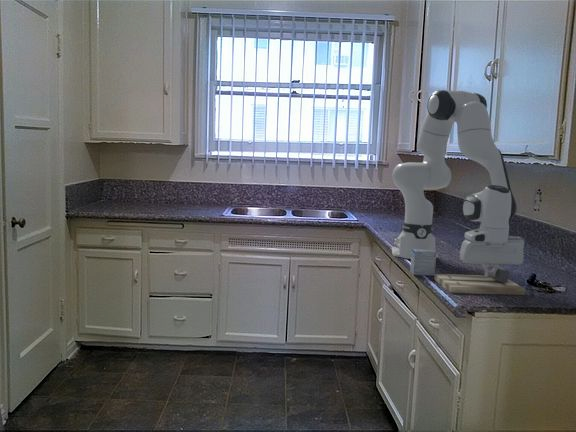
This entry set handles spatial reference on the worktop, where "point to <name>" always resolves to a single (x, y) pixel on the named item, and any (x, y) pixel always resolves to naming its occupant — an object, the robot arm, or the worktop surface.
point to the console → (477, 284)
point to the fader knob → (501, 275)
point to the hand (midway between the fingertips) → (489, 276)
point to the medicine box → (423, 262)
